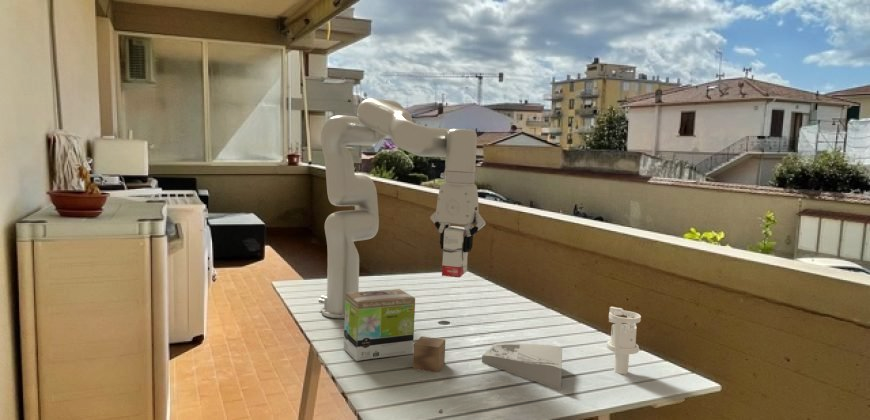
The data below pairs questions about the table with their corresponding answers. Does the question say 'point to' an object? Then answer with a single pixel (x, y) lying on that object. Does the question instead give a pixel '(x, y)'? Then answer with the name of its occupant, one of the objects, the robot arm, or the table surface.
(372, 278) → the table surface
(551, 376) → the ramp
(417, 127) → the robot arm
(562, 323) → the table surface
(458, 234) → the ink box
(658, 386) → the table surface
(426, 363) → the walnut block
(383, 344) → the tea box
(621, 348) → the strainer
